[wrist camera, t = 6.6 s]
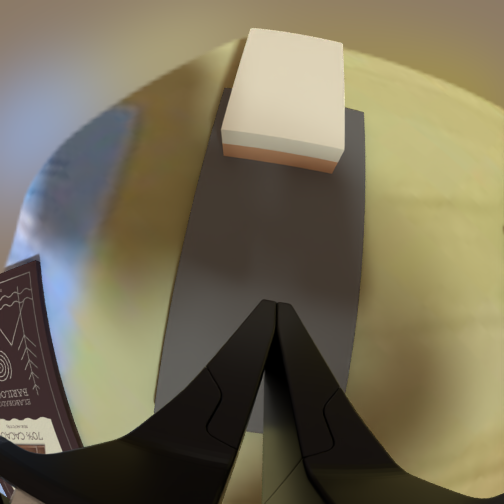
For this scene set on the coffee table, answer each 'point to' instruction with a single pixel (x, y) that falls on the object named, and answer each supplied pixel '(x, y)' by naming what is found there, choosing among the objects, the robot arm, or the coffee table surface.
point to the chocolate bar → (30, 370)
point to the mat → (267, 257)
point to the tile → (287, 102)
